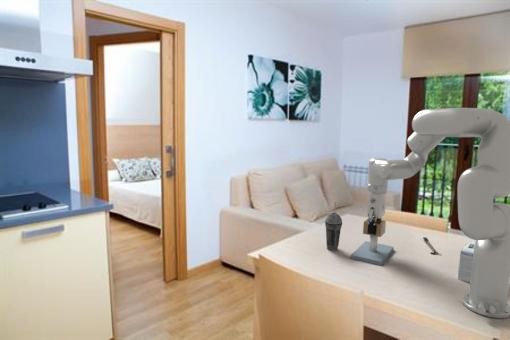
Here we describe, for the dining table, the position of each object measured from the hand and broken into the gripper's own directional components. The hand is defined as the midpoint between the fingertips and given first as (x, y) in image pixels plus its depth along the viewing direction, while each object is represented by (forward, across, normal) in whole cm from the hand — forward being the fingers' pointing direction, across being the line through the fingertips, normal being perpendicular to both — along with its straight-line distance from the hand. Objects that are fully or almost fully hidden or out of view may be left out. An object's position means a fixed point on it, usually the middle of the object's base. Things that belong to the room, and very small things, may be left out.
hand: (374, 231), depth 148 cm
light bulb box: (+10, -2, -35) cm, 36 cm away
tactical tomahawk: (+10, +25, -20) cm, 33 cm away
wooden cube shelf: (+1, 0, 0) cm, 1 cm away
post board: (+10, 0, 0) cm, 10 cm away
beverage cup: (+10, -4, +16) cm, 19 cm away
